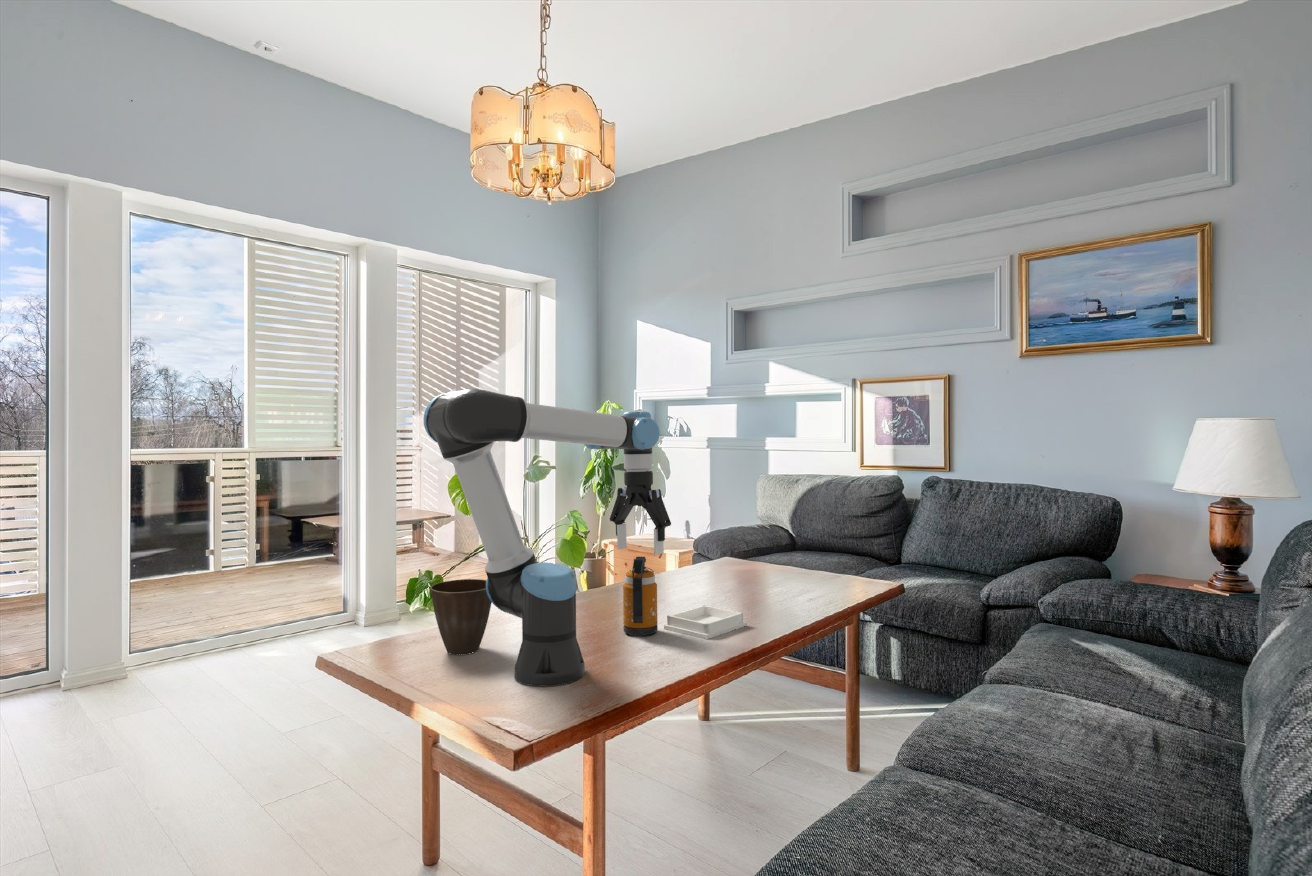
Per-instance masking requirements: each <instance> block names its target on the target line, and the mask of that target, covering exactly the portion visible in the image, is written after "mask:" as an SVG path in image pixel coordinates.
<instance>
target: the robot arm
mask: <svg viewBox="0 0 1312 876" xmlns="http://www.w3.org/2000/svg"><path fill="white" fill-rule="evenodd" d="M423 426H424V430H425V432H426V433H427V435H428V436H429V438H431V440H432V441H434V442H435V443H437V445H438V447H439V450H440V453H441V455H442V458H443V460H444V461H447V462H449V463H451V464H452V465H453V467H454V471H455V473H456V476H457V478H458V481H459V483H460V486H461V489H462V492H463V494H464V498H465V500H466V503H467V506H468V507H469V512H470V513H471V517H472V519H473V522H474V524H475V527H476V529H477V532H478V535H479V538H480V540H481V544H482V546H483V549H484V552H485V554H486V556H487V559H488V560H487V563H486V564H485V566H484V570H485V574H486V577H487V579H485V580H486V592H487V595H488V597H489V599H490V601H491V602H492V603H491V604H493V606H495V607H496V608H497V609H499V610H500V611H501V612H504V613H507V614H509V615H513V616H515V617H517V618H519V619H521V624H522V625H521V626H522V627H521V630H522V633H521V635H522V636H521V637H522V638H521V639H522V640H521V645H520V647H519V650H518V651H519V652H518V655H517V658H516V662H515V664H514V679H515V681H517V682H519V684H522V685H526V686H531V687H532V686H533V687H553V686H561V685H566V684H570V683H573V682H576V681H578V680H580V679H581V678H583V677H584V675H585V673H586V672H585V671H586V666H585V665H586V664H585V660H584V658H583V654H582V651H581V648H580V645H579V643H578V639H577V589H578V587H577V583H576V582H577V581H576V574H575V572H574V571H573V569H571V567H569V566H566V565H563V564H560V563H553V562H538V561H537V558H536V555H535V552H534V550H533V549H532V548H530V547H527V546H525V544H524V541H523V539H522V536H521V534H520V530H519V527H518V525H517V522H516V518H515V516H514V513H513V510H512V508H511V504H510V502H509V500H508V499H509V498H508V497H507V493H506V491H505V487H504V485H503V483H502V480H501V477H500V474H499V471H498V469H497V466H496V463H495V461H494V457H493V455H492V452H491V450H492V448H493V445H494V444H495V442H510V443H511V442H512V443H517V442H520V440H522V439H529V440H530V439H531V440H538V441H539V440H541V441H548V442H549V441H552V442H558V443H559V442H560V443H561V442H562V443H569V444H570V443H571V444H581V445H584V446H585V447H586V448H587V449H589V450H598V451H599V450H623V469H624V470H625V471H624V473H623V475H624V476H623V480H624V481H623V482H624V485H625V486H626V487H618V488H617V493H616V494H617V495H616V498H615V501H614V505H613V507H612V510H611V514H610V516H609V521H610V522H612V523H614V524H615V536H616V538H617V540H616V542H617V543H616V544H617V546H616V547H617V548H616V549H617V550H622V549H627V547H628V546H627V542H628V541H627V523H626V520H627V518H628V516H629V515H630V513H631V511H632V510H633V508H634V507H635V506H638V507H642V509H644V510H645V512H647V514H648V517H650V519H651V521H652V523H653V525H654V526H655V527H654V528H653V549H654V550H653V554H654V555H656V556H657V555H661V554H664V553H665V552H664V542H665V540H666V528H668V527H671V526H672V521H671V520H670V517H669V514H668V511H667V508H666V506H665V502H664V500H663V498H662V490H661V489H659V488H657V489H652V485H653V484H654V476H653V475H654V472H653V471H652V470H651V469H653V447H655V446H656V445H657V443H658V441H659V438H660V427H659V425H658V423H657V422H656V421H655V420H654V419H652V414H651V413H650V412H649V411H644V410H643V411H639V410H638V411H625V412H624V413H623V414H622V415H617V414H612V413H603V412H597V411H589V410H581V409H574V408H567V407H566V408H565V407H560V406H550V405H545V404H538V403H537V404H535V403H531V402H530V403H529V402H527V401H526V400H525V399H524V398H523V397H520V396H515V395H514V396H513V395H509V394H504V393H498V392H493V391H491V390H485V389H479V388H466V389H462V390H461V389H460V390H459V389H458V390H450V391H445V392H443V393H441V394H439V395H437V396H435V397H433V399H431V401H429V403H428V404H427V406H426V408H425V409H424V413H423Z"/></svg>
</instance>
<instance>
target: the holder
mask: <svg viewBox="0 0 1312 876" xmlns="http://www.w3.org/2000/svg"><path fill="white" fill-rule="evenodd" d="M666 618H667V623H666V624H663V629H664V630H667V629H668V630H669V631H671V630H672V631H671V632H675V633H679V634H684V635H687V634H688V635H687V636H691V637H696V638H701V639H704V638H705V639H704V640H709V639H712V638H715V637H718V636H721V635H724V634H726V633H731V632H732V630H733V631H735V630H734V629H736V630H739V629H741V627H742V628H744V626H745V627H747V625H748V624H747V623H748V622H747V621H744V612H740V611H736V610H730V609H727V608H726V609H724V608H720V607H714V606H709V605H705V604H704V605H700V606H696V607H693V608H690V609H687V610H683V611H678V612H676V613H671V614H669V615H667V617H666ZM668 630H667V631H668ZM720 634H721V635H720Z"/></svg>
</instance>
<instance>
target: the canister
mask: <svg viewBox="0 0 1312 876" xmlns="http://www.w3.org/2000/svg"><path fill="white" fill-rule="evenodd" d="M646 561H647V558H646V556H635V558H633V563H632V570H629V571H627V572H626V573H625V575H624V583H623V584H622V599H623V601H622V604H623V607H622V609H623V611H622V612H623V613H622V614H623V617H622V618H623V619H622V620H623V622H622V623H623V632H624V633H626V634H629V635H630V634H631V636H634V635H636V637H647V636H649V634H650V635H652V634H654V633H656V632H657V631H658V584H657V582H656V579H655V578H656V576H655V574H654V572H655V570H654V569H652V568H650V567H646Z"/></svg>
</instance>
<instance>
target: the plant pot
mask: <svg viewBox="0 0 1312 876" xmlns="http://www.w3.org/2000/svg"><path fill="white" fill-rule="evenodd" d="M486 580H487V579H478V578H477V579H475V578H467V579H466V578H464V579H463V578H462V579H453V580H452V579H451V580H445V581H441V582H437V583H434V584H433V585H431V586H430V594H431V600H432V606H433V611H434V617H435V619H436V623H437V628H438V631H439V633H440V636H441V640H442V642H443V646H444V647H445V651H446V652H447V653H448V654H449V653H450V654H449V655H453V654H455V655H454V656H462V655H461V654H466V655H470V654H469V653H471V654H473V653H472V652H474V653H475V652H477V650H479V649H480V646H481V644H482V642H483V641H482V640H483V637H484V635H485V633H486V632H485V631H486V628H487V625H488V621H489V616H490V612H491V608H492V604H493V603H492V602H491V601H490V599H489V597H488V595H487V592H486ZM456 654H458V655H456ZM459 654H460V655H459Z"/></svg>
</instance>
